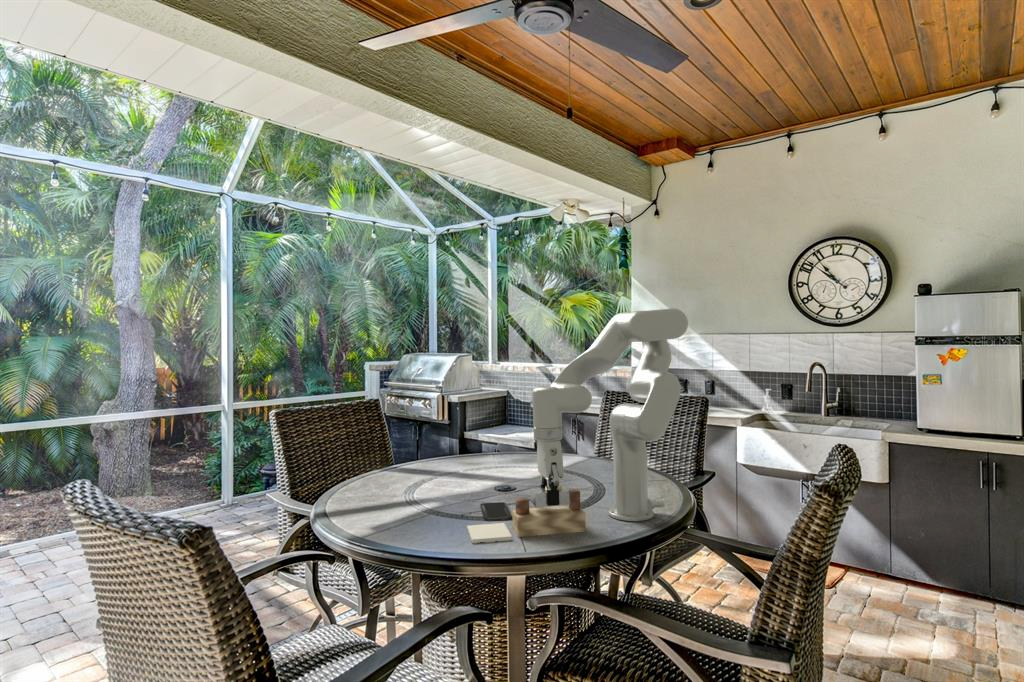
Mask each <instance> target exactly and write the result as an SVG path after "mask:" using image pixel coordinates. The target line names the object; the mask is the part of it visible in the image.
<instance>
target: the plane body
mask: <svg viewBox="0 0 1024 682" xmlns="http://www.w3.org/2000/svg"><path fill="white" fill-rule="evenodd" d="M568 491H569V500H570V505H560V506H549V507H538V508H536V507H533V508H530V498H528V497H517V498H515V509H512V513H511V514H512V530H513V531H514V533H515V535H516V534H517V535H516V536H517V537H518V538H521V537H522V538H523V537H524V536H525V537H534V535H535V537H536V535H537V536H546V535H547V536H548V535H549V534H550V535H559V534H570V533H571V534H573V533H583V532H587V531H586V529H587V528H586V524H587V523H586V512H585V510H583V509H582V508H581V490H579V488H571V489H568Z"/></svg>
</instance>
